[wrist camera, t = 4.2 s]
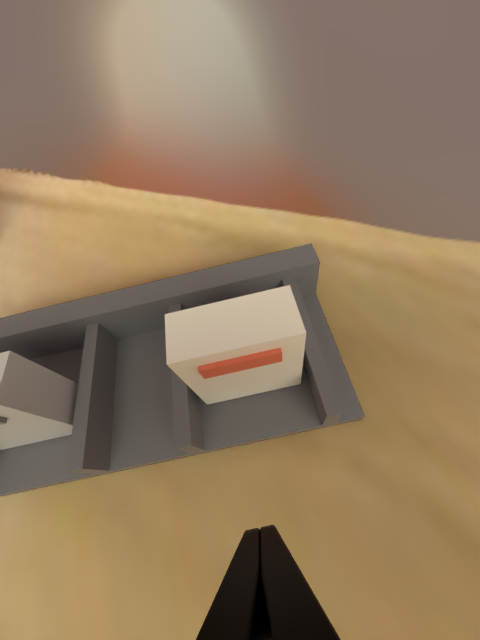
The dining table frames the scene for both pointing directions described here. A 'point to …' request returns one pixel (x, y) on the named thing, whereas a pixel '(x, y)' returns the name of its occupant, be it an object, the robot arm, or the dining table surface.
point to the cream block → (237, 345)
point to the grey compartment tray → (166, 375)
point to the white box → (33, 402)
